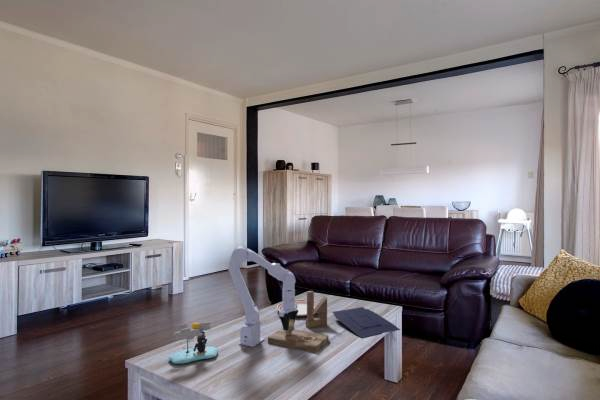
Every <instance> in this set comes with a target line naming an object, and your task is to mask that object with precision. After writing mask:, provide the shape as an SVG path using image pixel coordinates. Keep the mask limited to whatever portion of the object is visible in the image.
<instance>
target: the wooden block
mask: <svg viewBox="0 0 600 400" xmlns="http://www.w3.org/2000/svg"><path fill="white" fill-rule="evenodd" d="M306 300H307V316H306V318H305V326H306V328H308V329H310V328H312V329H313V328H317V327H325V326H328V298H327V297H326V296H323V297H322V299H320V301H318V302H319V303H318V305H317V306H316V307H315V308H314V301H315V292H314V291H313V290H308V291H306ZM314 313H316V314H318V316H317V317H315V314H314Z"/></svg>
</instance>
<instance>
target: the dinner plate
mask: <svg viewBox="0 0 600 400" xmlns="http://www.w3.org/2000/svg"><path fill="white" fill-rule="evenodd" d="M319 302H320V301H316V300H314V308H315V307H316V306H317V305H318V303H319ZM295 304H297V310H298V313H297V316H296V317H307V299H295ZM282 307H283V301H281V302H280V303H279V304H277V306H276V310H277V311H278V312H280V311H281V309H282ZM315 314H317V313H314V315H315Z"/></svg>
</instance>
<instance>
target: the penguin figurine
mask: <svg viewBox="0 0 600 400" xmlns="http://www.w3.org/2000/svg"><path fill="white" fill-rule="evenodd" d="M191 328H192V329H191ZM211 328H212V327H211V322H209V321H205V322H193V323H192V325H191V327H188V325H187V323H179V324H176V325H175V326H174V329H175V330H176V332H173V336H174V337H175V336H176V337H175V338H176V340H177V341H184V340H185V341H186V344H187V345H186V347H185V346H184V347H183V348H182V350H180V351H178V352H176V353H173V354H170V355H169V356H168V359H169V361H171V362H172V363H173V364H175V365H176V364H177V365H178V364H181V365H182V364H188V363H192V362H194V361H200V360H207V359H211V358H215V357H217V355H218V353H219V349H218V348H217V347H215V346H206V345H207V341H208V338H206V335H205V331H209V330H211ZM195 337H196V338H197V339H196V343H195V340H193V339H194V338H195ZM191 342H193V343H195V345H194V346H193V348H192V345H189V344H191ZM179 345H182V342H179Z"/></svg>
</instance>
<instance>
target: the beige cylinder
mask: <svg viewBox="0 0 600 400" xmlns="http://www.w3.org/2000/svg"><path fill="white" fill-rule="evenodd" d="M283 330H284V329H283ZM293 330H295V323H294V320H293V319H290V320H289V328H288V330H284V331H285V333H286V335H287V336H290V335H291V333H292V331H293Z"/></svg>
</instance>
